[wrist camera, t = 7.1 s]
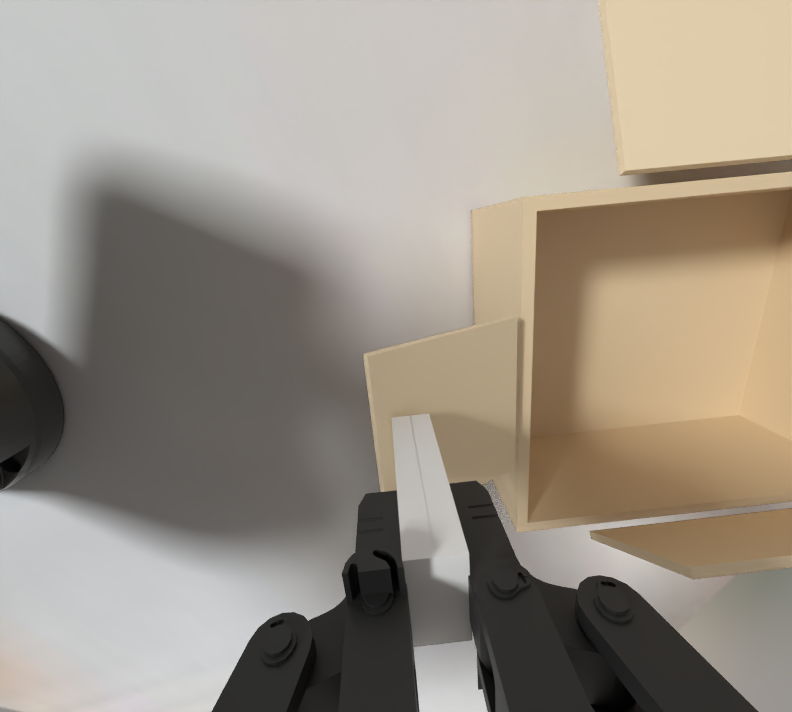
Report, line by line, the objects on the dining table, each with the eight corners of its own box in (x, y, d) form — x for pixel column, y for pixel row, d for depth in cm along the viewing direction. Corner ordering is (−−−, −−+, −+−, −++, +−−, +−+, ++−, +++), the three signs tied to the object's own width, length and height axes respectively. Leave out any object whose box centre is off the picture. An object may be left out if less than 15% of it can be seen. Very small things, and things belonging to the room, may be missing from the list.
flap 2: (604, -8, 15) (598, 1, 15) (625, 170, 15) (619, 175, 15) (932, -37, 15) (918, -26, 16) (957, 139, 15) (942, 144, 15)
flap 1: (515, 467, 19) (509, 464, 19) (517, 317, 16) (510, 315, 17) (389, 533, 16) (384, 527, 16) (367, 356, 13) (362, 353, 13)
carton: (476, 446, 30) (517, 532, 21) (471, 210, 24) (523, 197, 15) (739, 418, 30) (883, 490, 22) (796, 179, 24) (1023, 149, 16)
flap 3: (589, 530, 21) (591, 538, 21) (689, 567, 14) (693, 579, 13) (828, 503, 21) (831, 511, 21) (1050, 525, 14) (1057, 536, 14)
